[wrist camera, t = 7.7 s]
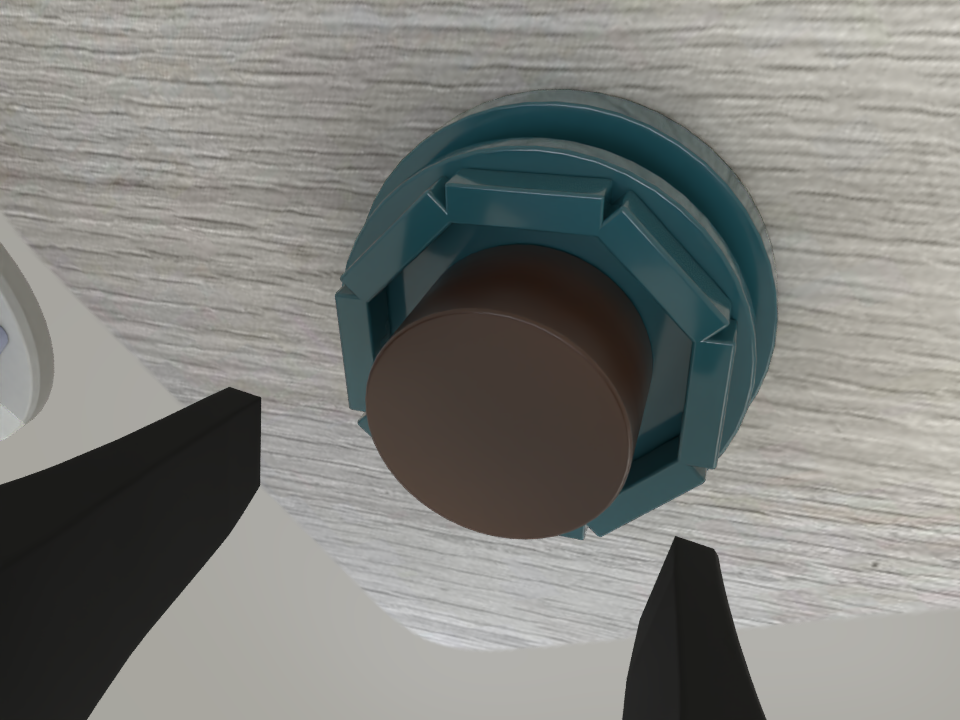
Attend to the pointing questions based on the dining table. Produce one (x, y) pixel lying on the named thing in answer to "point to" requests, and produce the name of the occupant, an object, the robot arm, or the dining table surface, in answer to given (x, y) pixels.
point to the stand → (587, 258)
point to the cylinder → (513, 393)
